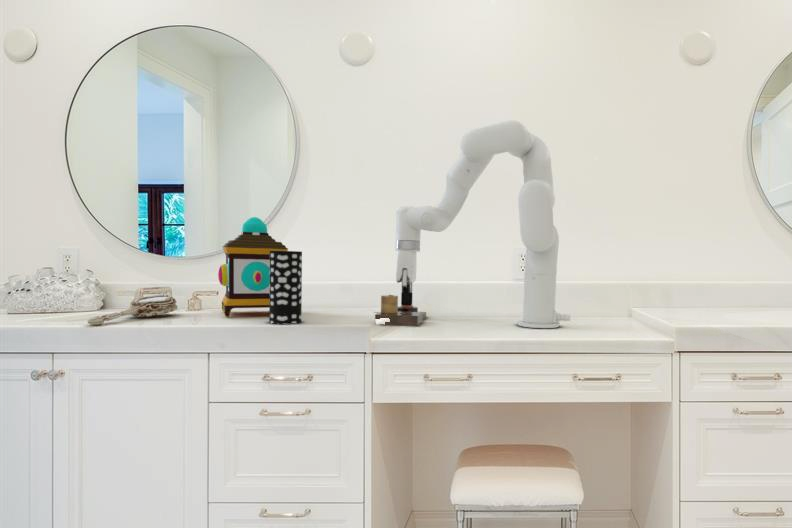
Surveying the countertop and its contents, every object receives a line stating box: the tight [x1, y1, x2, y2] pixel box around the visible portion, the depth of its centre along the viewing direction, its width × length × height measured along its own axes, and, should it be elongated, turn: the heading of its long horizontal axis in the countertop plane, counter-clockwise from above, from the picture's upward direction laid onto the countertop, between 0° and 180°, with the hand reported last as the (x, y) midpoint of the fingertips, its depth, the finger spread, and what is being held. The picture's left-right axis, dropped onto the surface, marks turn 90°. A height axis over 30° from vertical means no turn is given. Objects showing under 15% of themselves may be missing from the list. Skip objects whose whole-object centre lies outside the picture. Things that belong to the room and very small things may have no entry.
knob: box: [380, 294, 399, 314], centre depth 160 cm, size 5×5×5 cm
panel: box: [373, 311, 424, 327], centre depth 160 cm, size 14×10×3 cm
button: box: [400, 304, 414, 308], centre depth 173 cm, size 4×4×2 cm
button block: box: [398, 305, 427, 321], centre depth 173 cm, size 11×9×4 cm
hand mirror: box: [87, 294, 179, 326], centre depth 150 cm, size 11×6×30 cm
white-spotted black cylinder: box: [268, 250, 303, 325], centre depth 154 cm, size 8×8×20 cm
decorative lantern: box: [217, 216, 289, 318], centre depth 170 cm, size 20×20×30 cm
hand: (406, 304), depth 173 cm, fingers closed
